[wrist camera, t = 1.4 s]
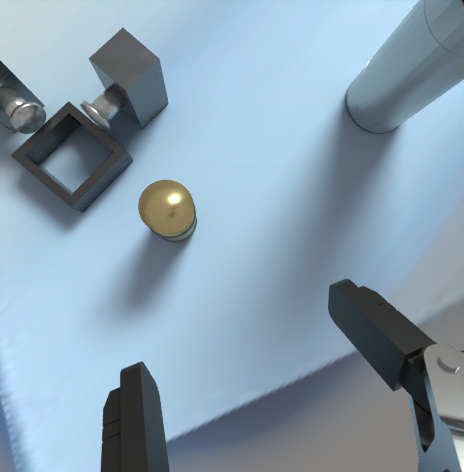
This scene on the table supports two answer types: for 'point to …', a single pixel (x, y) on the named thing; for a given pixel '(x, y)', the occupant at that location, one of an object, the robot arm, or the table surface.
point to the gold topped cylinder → (168, 210)
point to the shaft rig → (100, 111)
